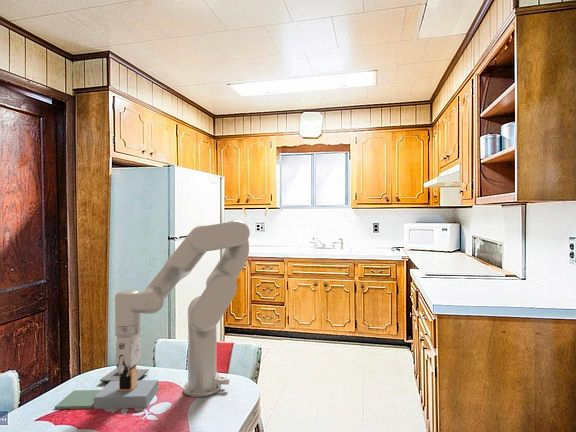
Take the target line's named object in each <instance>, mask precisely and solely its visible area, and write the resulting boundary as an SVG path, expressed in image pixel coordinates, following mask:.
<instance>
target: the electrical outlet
mask: <svg viewBox="0 0 576 432" xmlns="http://www.w3.org/2000/svg"><path fill="white" fill-rule="evenodd" d="M117 370H118V368H117V367H116V368H115V369H113V370H111V372H108V374H106V375H105V376H103V377H101V378H100V379H99V382H102V383H109V382H110V381H119V374H118V373H117ZM149 371H150V369H147V368H146V369H145V368H144V369H143V368H136V375H137V380H141V378H142V377H144V375H146V374H148V373H149Z"/></svg>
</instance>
